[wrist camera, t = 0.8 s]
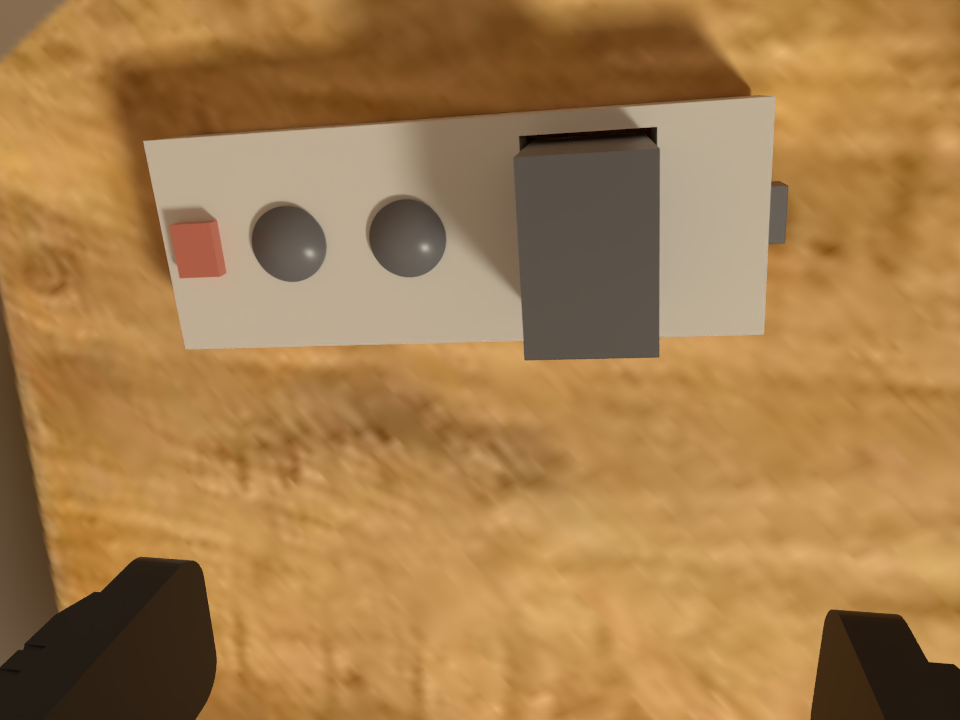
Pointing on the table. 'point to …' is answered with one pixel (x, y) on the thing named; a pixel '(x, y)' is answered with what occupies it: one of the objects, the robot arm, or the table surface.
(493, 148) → the power strip
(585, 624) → the table surface
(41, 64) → the table surface
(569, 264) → the charcoal plug
